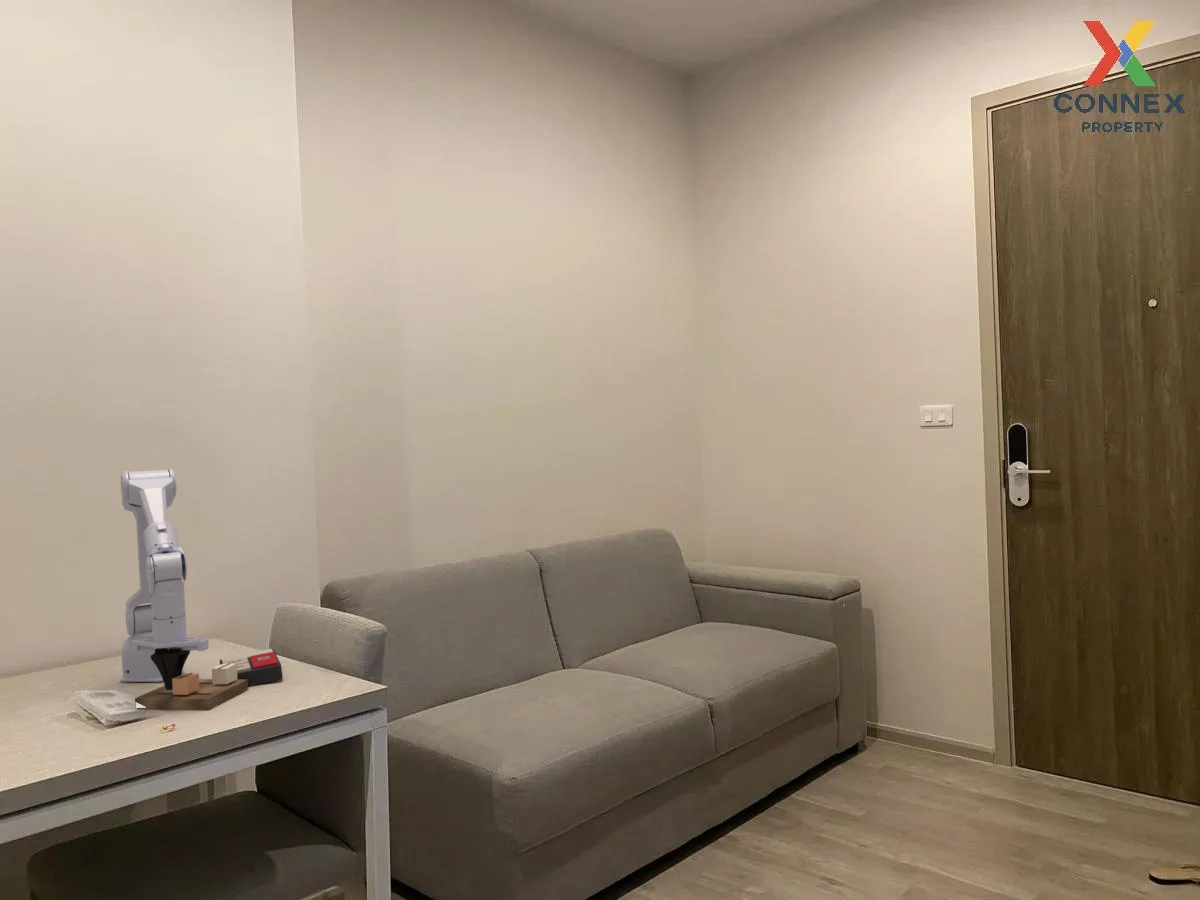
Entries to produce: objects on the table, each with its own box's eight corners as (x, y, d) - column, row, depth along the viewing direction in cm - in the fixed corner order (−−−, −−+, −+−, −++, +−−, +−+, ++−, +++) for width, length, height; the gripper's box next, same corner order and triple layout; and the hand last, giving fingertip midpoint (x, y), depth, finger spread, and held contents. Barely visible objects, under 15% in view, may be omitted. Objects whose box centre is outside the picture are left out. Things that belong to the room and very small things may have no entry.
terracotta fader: (172, 694, 167) (172, 678, 167) (185, 689, 171) (184, 672, 171) (187, 694, 167) (186, 678, 167) (199, 689, 170) (198, 672, 170)
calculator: (222, 672, 178) (218, 655, 191) (225, 694, 178) (221, 675, 191) (281, 661, 182) (273, 645, 196) (283, 681, 183) (275, 665, 196)
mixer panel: (135, 709, 167) (134, 697, 167) (179, 688, 180) (178, 678, 180) (208, 710, 165) (208, 698, 165) (248, 689, 178) (247, 678, 178)
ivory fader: (212, 684, 174) (211, 668, 174) (223, 678, 177) (222, 663, 177) (226, 684, 173) (226, 668, 173) (237, 679, 177) (236, 663, 177)
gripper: (119, 621, 166) (123, 694, 167) (190, 620, 164) (194, 695, 164) (144, 613, 173) (148, 683, 174) (213, 612, 171) (217, 684, 171)
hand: (172, 688), depth 169 cm, fingers closed
